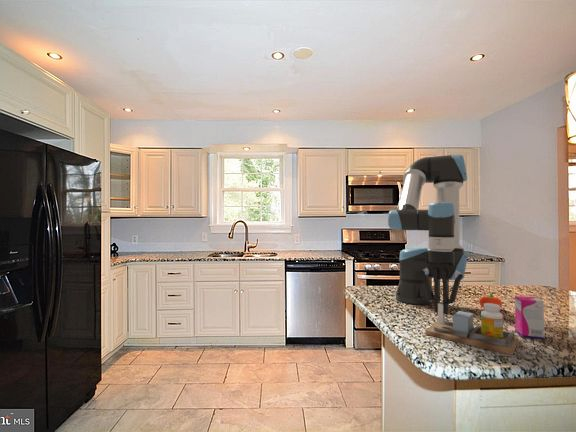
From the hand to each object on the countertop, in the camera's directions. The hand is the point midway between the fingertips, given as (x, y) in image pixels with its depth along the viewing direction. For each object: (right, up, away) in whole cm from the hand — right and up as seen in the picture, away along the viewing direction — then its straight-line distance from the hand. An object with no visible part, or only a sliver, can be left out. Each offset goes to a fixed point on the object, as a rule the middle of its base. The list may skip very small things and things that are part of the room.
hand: (441, 323), depth 99 cm
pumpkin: (+32, -3, +24) cm, 40 cm away
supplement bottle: (+10, -1, -9) cm, 14 cm away
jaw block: (+4, -1, -4) cm, 6 cm away
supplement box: (+26, -3, -3) cm, 26 cm away
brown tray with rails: (+6, -2, -6) cm, 9 cm away
